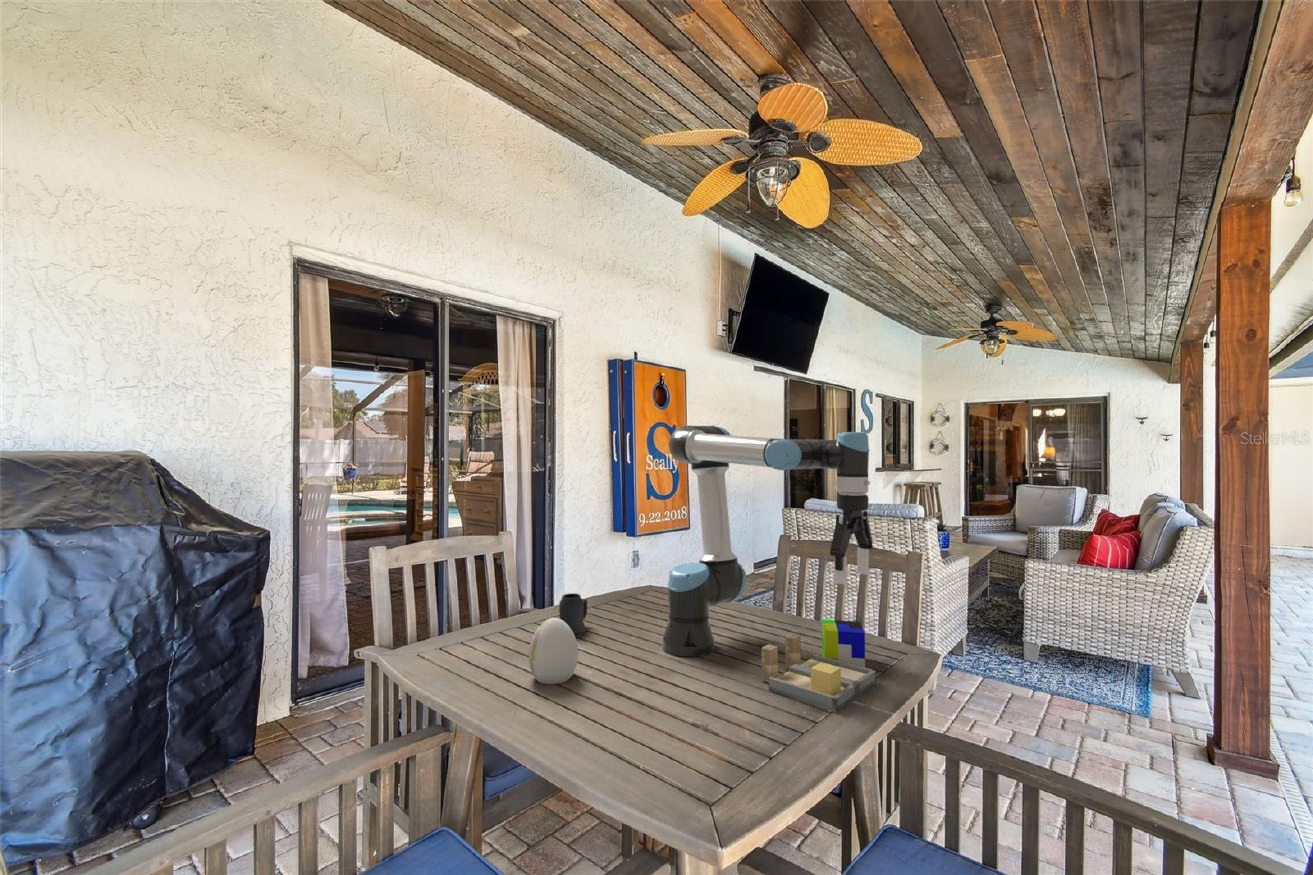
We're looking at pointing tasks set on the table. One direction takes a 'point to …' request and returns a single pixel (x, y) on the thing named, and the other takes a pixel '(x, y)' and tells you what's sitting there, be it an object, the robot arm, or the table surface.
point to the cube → (826, 678)
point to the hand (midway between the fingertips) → (851, 578)
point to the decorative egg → (553, 652)
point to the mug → (573, 612)
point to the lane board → (851, 680)
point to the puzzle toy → (843, 641)
